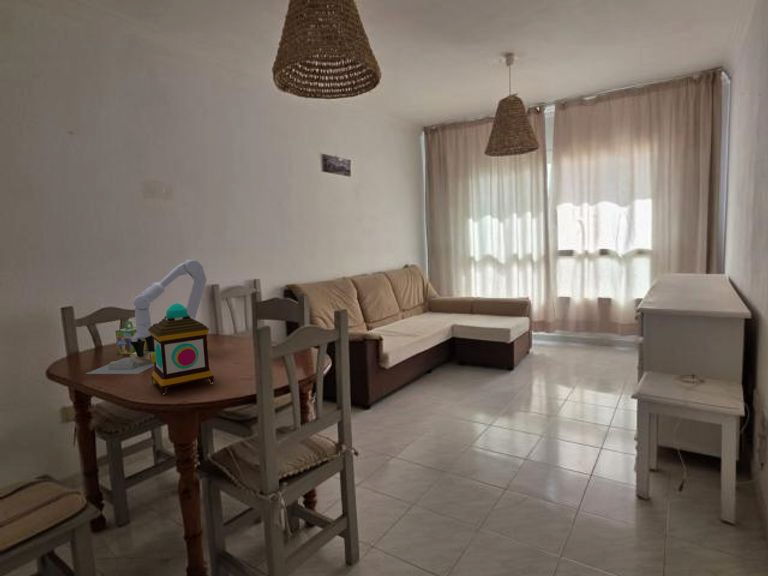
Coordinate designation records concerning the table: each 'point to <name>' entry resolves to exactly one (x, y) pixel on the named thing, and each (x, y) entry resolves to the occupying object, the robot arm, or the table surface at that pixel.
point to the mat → (137, 370)
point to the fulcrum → (123, 365)
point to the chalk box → (126, 339)
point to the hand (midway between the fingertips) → (146, 354)
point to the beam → (141, 359)
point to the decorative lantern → (179, 349)
